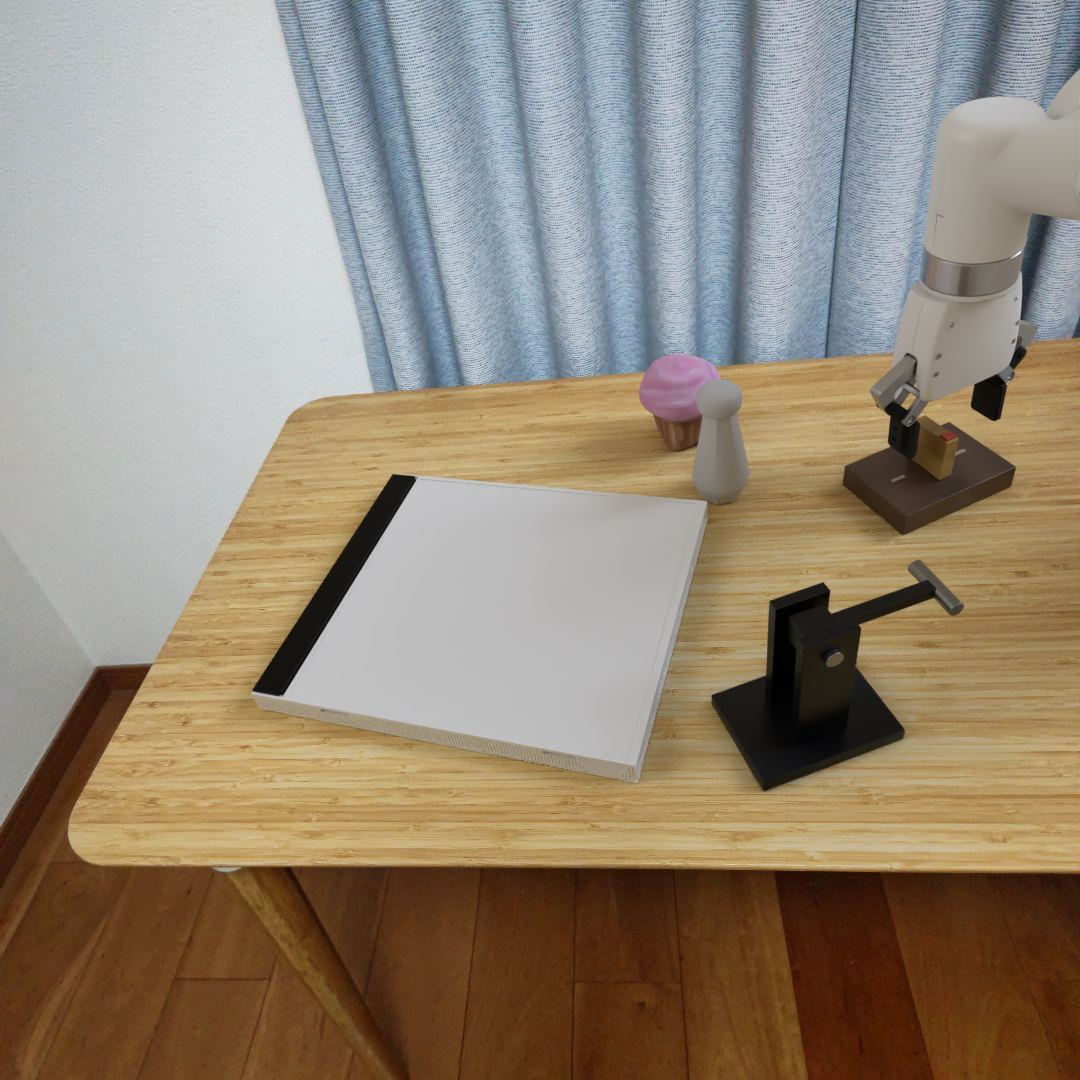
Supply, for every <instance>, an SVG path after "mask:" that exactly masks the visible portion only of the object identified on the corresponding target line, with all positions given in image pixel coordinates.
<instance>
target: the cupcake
mask: <svg viewBox="0 0 1080 1080" xmlns="http://www.w3.org/2000/svg"><path fill="white" fill-rule="evenodd" d="M716 379H722V378H721V375H720V373H719V371H718V369H717V368H716V366H715V365H714V364H713V363H711V362H710V361H708V360H706V359H705V358H702V357H698V356H695V355H692V354H691V355H690V354H688V353H682V352H681V353H680V352H679V353H671V354H667V355H663V356H661V357H659V358H657V359H655V360H653V361H652V362H651V363H650V366H648V369H647V370H646V371H645V373H644V375H643V378H642V380H641V382H640V385H639V389H638V398H639V399H638V400H639V401H640V404H641V405H642V407H643V408H644V409H645V410H646V411H647V412H649V413H650V414H652V415H653V419H654V422H655V425H656V428H657V431H658V433H659V435H660V437H661V439H662V440H663V443H664V444H665V446H666V447H667V448H668V449H669V450H672V451H680V450H683V449H686V448H689V447H691V446H694V445H698V441H699V435H700V429H701V423H702V417H703V414H701V413H700V411H699V409H698V407H697V402H696V399H697V394H698V390H699V388H700V387H701V386H703V385H704V384H705V383H706V382H709V381H712V380H716Z"/></svg>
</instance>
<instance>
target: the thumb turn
mask: <svg viewBox="0 0 1080 1080" xmlns="http://www.w3.org/2000/svg"><path fill="white" fill-rule="evenodd" d="M916 421H918V422H919V423H920V432H919V440H918V447H917V454H916V456H915V457H914V458H912V460H913V461H914V462H916V463H917V464H918V465H920V466H921V467H922V468H924V469H925V470H926V471H928V472H929V473H930V474H932V475H933V476H934V477H936V478H937V479H938V480H941V479H944V478H946V477H948V476H951V473H952V468H953V463H954V459H955V454H956V449H957V445H958V440H959V438H958V437H956V435H955V434H953V433H952V432H950V431H947V430H946V429H945V428H943V427H942V426H940V424H939V423H937V422H936V421H935V420H933V419H931V418H930V417H929V416H928V415H923V416H919V417H918V418H917V419H916Z"/></svg>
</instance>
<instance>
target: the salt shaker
mask: <svg viewBox="0 0 1080 1080" xmlns="http://www.w3.org/2000/svg"><path fill="white" fill-rule="evenodd" d="M696 402H697V407H698V409H699V411H700V413H701V414H703V417H702V423H701V429H700V435H699V441H698V443H697V447H696V451H695V455H694V456H695V457H694V461H693V466H692V467H693V468H692V472H691V479H692V481H693V484H694V486H695V488H696V490H697V491H698V494H699V495H700V497H701V499H703V500H704V501H707V502H709V503H712V504H713V505H715V506H720V505H724V504H725V505H726V504H729V503H733V502H734V503H735V501H736V500H737V498H738V497H739V495H740V494H741V493H742V491H743V490H744V488H746V486H747V485H748V481H749V478H750V475H751V474H750V473H751V470H750V466H749V461H748V458H747V451H746V448H745V445H744V444H745V443H744V439H743V434H742V430H741V425H740V421H739V417H738V413H739V411H740V410H741V407H742V404H743V392H742V389H741V387H740V386H739V385H738V384H736V383H735V382H733V381H731V380H730V379H723V378H721V379H716V380H712V381H709V382H706V383H705V384H704V385H703V386H701V387H700V388H699V390H698V394H697V399H696Z"/></svg>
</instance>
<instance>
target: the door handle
mask: <svg viewBox="0 0 1080 1080" xmlns="http://www.w3.org/2000/svg"><path fill="white" fill-rule="evenodd" d="M907 571H908V572H909V574H911V575H912V577H913V578H914V579H915V580H916V581H917V583H914V584H911V585H908V586H906V587H902V588H899V589H896V590H894V591H892V592H888V593H886V594H883V595H880V596H878V597H875V598H872V599H869V600H866V601H864V602H860V603H857V604H855V605H852V606H849V607H847V608H844V609H840V610H838V611H834V612H830V610H829V608H828V609H827V608H826V607H825V605H824V604H821V605H818V606H815V607H812V608H810V609H807V610H804V611H801V612H798V613H795V614H792V615H790V616H789V617H788V632H787V638H788V639H789V641H790V642H791V643H792V645H793V646H794V647H795V649H796V650H797V640H798V639H800V638H802V637H805V636H808V635H811V634H814V633H816V632H819V631H822V630H825V629H828V628H831V627H833V626H836V625H839V624H842V623H845V622H847V621H850V620H853V619H854V620H855V621H856V622H857V624H858V625H859V626H860V625H862V624H867V623H868V622H871V621H875V620H877V619H879V618H883V617H885V616H888V615H891V614H894V613H896V612H897V613H898V612H899V611H902V610H905V609H908V608H910V607H913V606H916V605H919V604H922V603H924V602H927V601H930V600H933V599H934V600H935V601H936V602H937V603H938V604H939V605H940V607H941V608H942V609H943V610H944V611H945V612H946V613H947V614H948V615H949V616H950V617H955V616H957V615H959V614H960V613H962V612H963V610H964V609H965V603H964V602H962V601H961V600H960V599H959V597H957V595H955V594H954V593H953V592H952V590H951V589H949V588H948V587H947V586H946V584H945V583H944V582H943V581H941V579H940V578H939V577H938V576H937V575H936V574H935V573H934V572H933V571H932V570H931V569H930V568H929V567H928V566H927V565H926V563H924V562H923V561H922V560H921V559H916V560H913V561H911V563H910V564H909V565H908V566H907Z"/></svg>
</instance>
